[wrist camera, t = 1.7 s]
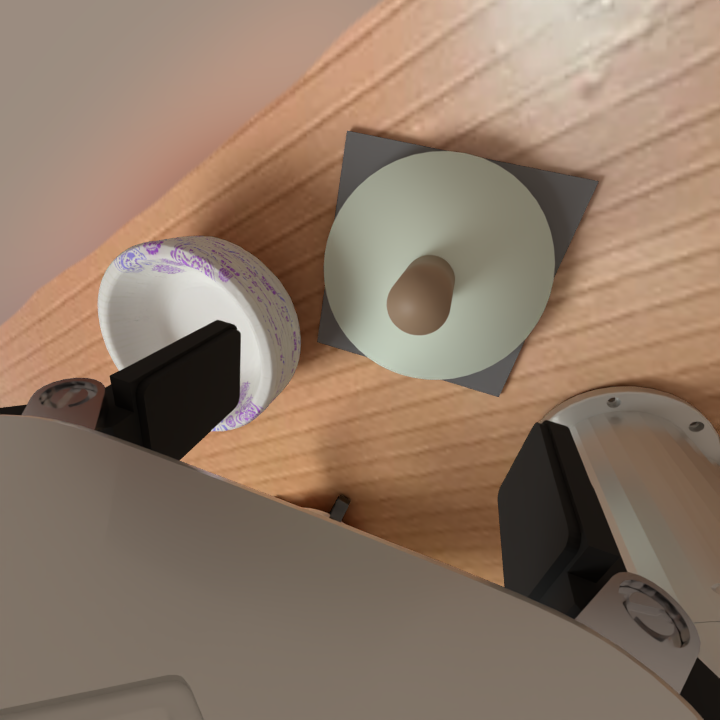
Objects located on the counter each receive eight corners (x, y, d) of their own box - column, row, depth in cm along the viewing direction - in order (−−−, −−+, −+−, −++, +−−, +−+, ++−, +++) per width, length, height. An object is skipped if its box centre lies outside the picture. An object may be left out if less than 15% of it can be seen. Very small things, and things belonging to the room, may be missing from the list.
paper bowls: (272, 201, 27) (206, 207, 21) (340, 372, 33) (305, 422, 26) (141, 260, 33) (56, 280, 26) (216, 397, 38) (161, 443, 32)
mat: (596, 181, 21) (598, 181, 21) (498, 394, 29) (498, 397, 29) (348, 131, 24) (347, 130, 24) (318, 340, 32) (317, 341, 31)
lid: (598, 181, 21) (651, 179, 15) (498, 396, 29) (506, 455, 23) (347, 130, 24) (302, 111, 17) (317, 341, 31) (279, 380, 25)
